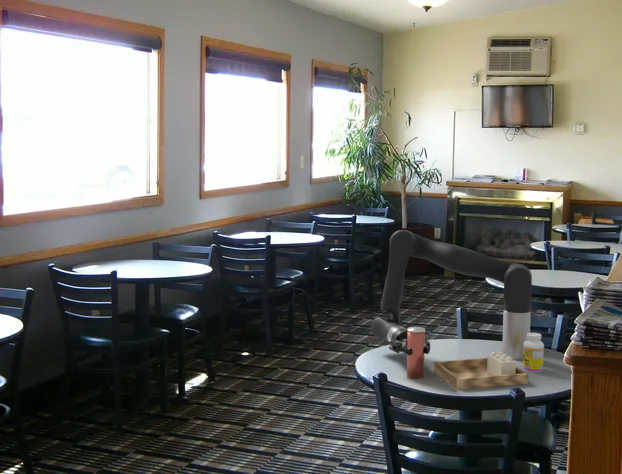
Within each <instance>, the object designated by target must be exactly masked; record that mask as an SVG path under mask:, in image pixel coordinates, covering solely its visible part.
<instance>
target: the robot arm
mask: <svg viewBox="0 0 622 474" xmlns="http://www.w3.org/2000/svg"><path fill="white" fill-rule="evenodd" d="M388 256H389V258H388V259H389V260H388V267H387V273H386V277H385V281H384V282H385V283H384V286H383V287H384V288H383V291H382V296H381V301H380V309H381V310H382V311H383V312H386V313H389V314H390V317H383V316H378V317H375V318H374V319H372V321H371V325H370V331H371V333H372V334H373V335H374V336H375V337H377V338H379V339H382V340H384V341H386V342H388V349H389V351H393V353H394V352H395V353H396V354H400V353H402V354H404V355H406V356H407V355H411V349H410V348H409V347H407V332H408V331H407V328H405V327H404V326H401V318H400V317H401V315H400V314H401V312H400V310H401V303H402V299H403V293H404V285H405V284H404V283H405V275H406V274H405V273H406V268H407V265H408V261H409V259H410V257H414V258H419V259H422V260H426V261H429V262H430V263H432V264H435V265H437V266H439V267H440V268H443V269H446V270H448V271H451V272H454V273H458V274H461V275H463V276H464V275H465V276H468V277H469V276H470V277H476V278H486V279H491V280H495V281H497V282H500V283H502V284H503V315H502V316H503V317H502V324H503V325H502V347H501V348H502V349H501V351H502V352H503V354H507V355H508V356H510V357H512V360H514V361H515V360H516V361H519V360H520V361H523V344H524V342H525V341H527V333H532V332H531V313H532V312H531V311H532V310H531V309H532V286H533V285H532V284H533V279H532V278H533V275H532V272H531V270H530V268H528V267H527V266H526V265H525V264H523V263H522V264H521V263H516V262H511V261H506V260H501V259H497V258H494V257H492V256H488V255H486V254H484V253H481V252H478V251H476V250H473V249H470V248H466V247H463V246H459V245H456V244H451V243H446V242H443V241H442V242H441V241H436V240H433V239H432V240H431V239H428V238H426V237H423V236H421V235H419V234H416V233H413V232H412V231H410V230H406V229H400V230H397V231H395V232H393V234H391V236H390V238H389V255H388ZM430 352H431V342H430V341H429V340H428V338H425V353H424V355H428V354H429V353H430Z"/></svg>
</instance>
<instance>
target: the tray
mask: <svg viewBox="0 0 622 474" xmlns="http://www.w3.org/2000/svg"><path fill="white" fill-rule="evenodd" d="M487 360H488V357H482V358H481V357H480V358H468V359H466V358H465V359H454V360H441V361H433V372H434V373H433V374H434V375H436V376H437V377H438V378H439V379H441V380H442V381H443V382H444V383H446V384H447V385H448V386H450V388H452V389H453V390H455V391H456V392H459V391H458V390H468V389H469V390H470V389H471V390H472V389H480V388H493V387H494V388H495V387H505V386H520V385H528V383H529V373H528V372H527V371H524V370H523V369H522V368H521V369H520V368H519V367H517V366H516V374H510V375H497V376H493V375H491V374H490V373H488V372H487Z"/></svg>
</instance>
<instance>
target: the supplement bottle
mask: <svg viewBox="0 0 622 474" xmlns="http://www.w3.org/2000/svg"><path fill="white" fill-rule="evenodd" d="M541 340H542V334H541V333H538V332H531V333H527V341H525V342H524V344H523V360H522V371H524V372H527V373H542V372H544V353H545V351H544V350H545V344H544V342H543V341H541Z"/></svg>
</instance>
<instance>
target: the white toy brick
mask: <svg viewBox="0 0 622 474" xmlns="http://www.w3.org/2000/svg"><path fill="white" fill-rule="evenodd" d="M487 358H488V360H487V372H488V373H490V374H491V375H493V376H497V375H510V374H516V367H517V360H516V361H515V360H513V359H512V357H510V356H508V355H507V354H503V352H502V350H500V351H498V353H497V352H496V351H492V352H491V353H487Z"/></svg>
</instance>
